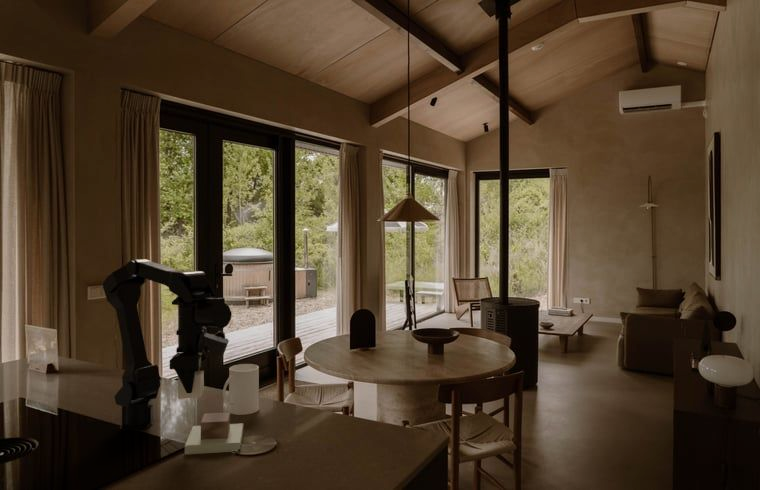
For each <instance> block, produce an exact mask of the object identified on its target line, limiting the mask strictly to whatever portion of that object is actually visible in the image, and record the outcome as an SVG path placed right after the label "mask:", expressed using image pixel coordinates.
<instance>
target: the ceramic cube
mask: <svg viewBox="0 0 760 490" xmlns="http://www.w3.org/2000/svg"><path fill="white" fill-rule="evenodd" d="M204 371H205V370H199V371H196V372H195V378H194V383H193V389H192V393H186V391H185V389H184V387H183V385H182V383H181V381H180V379H179V377H177V399H179V400H180V399H181V400H182V399H198V398H199V399H200V398H202V396H203V394H204V392H205V390H204V389H205V386H204V385H205V381H204V380H205V379H204V378H205V377H204V374H205V372H204Z"/></svg>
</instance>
